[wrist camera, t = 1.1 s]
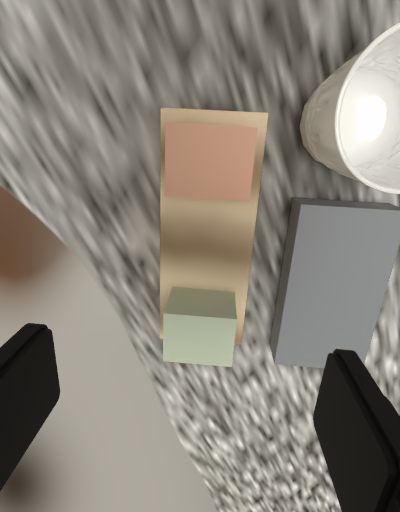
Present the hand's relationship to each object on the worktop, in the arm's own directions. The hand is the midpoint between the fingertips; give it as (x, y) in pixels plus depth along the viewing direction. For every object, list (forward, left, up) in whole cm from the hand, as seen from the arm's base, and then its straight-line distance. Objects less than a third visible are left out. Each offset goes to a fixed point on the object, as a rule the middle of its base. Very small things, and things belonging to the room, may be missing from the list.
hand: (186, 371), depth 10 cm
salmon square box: (-6, 0, -14) cm, 15 cm away
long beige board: (0, 0, -19) cm, 19 cm away
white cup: (-9, +10, -19) cm, 23 cm away
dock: (+4, +11, -18) cm, 22 cm away
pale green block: (+6, 0, -14) cm, 15 cm away
